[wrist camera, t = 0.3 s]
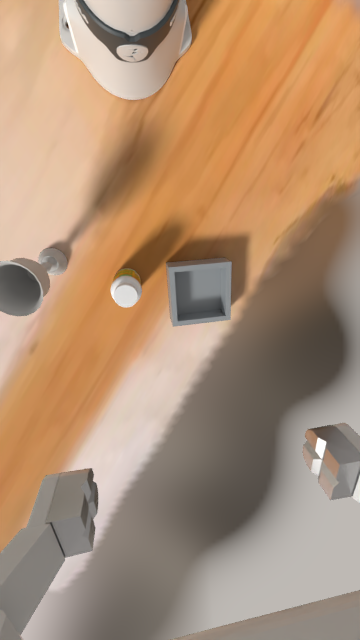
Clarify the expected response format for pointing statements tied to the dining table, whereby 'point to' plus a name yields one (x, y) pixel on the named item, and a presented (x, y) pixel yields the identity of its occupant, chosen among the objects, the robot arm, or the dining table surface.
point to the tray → (199, 291)
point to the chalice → (28, 281)
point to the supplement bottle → (126, 287)
